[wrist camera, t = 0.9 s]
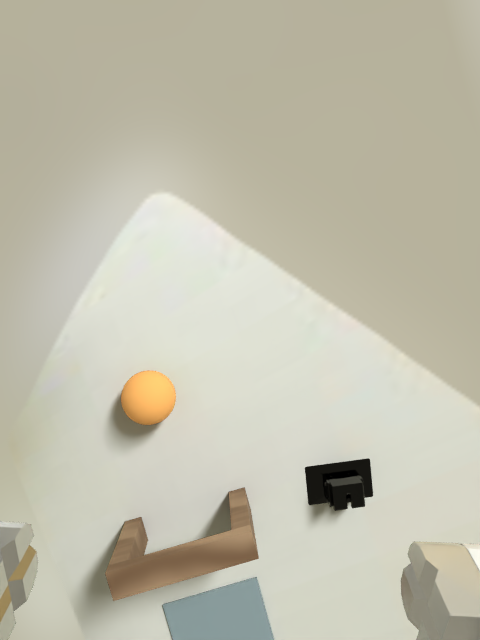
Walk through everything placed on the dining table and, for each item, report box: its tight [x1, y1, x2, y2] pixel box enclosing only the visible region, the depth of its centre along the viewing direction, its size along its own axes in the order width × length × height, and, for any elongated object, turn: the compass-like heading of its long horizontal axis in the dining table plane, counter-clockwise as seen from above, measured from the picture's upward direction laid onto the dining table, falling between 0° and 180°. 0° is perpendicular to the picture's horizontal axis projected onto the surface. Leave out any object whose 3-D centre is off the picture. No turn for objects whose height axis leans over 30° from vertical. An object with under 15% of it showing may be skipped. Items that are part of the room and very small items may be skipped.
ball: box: [121, 371, 176, 425], centre depth 49 cm, size 6×6×6 cm
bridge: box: [105, 487, 259, 601], centre depth 48 cm, size 3×15×10 cm, turn 105°
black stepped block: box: [305, 459, 373, 511], centre depth 52 cm, size 12×7×5 cm, turn 96°
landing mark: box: [163, 577, 274, 640], centre depth 54 cm, size 12×12×1 cm
